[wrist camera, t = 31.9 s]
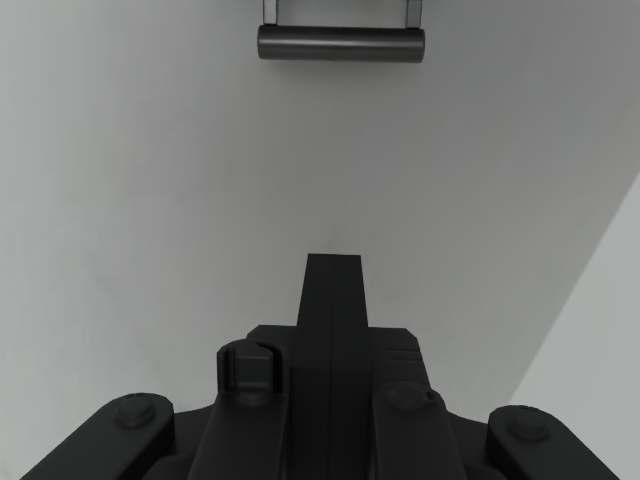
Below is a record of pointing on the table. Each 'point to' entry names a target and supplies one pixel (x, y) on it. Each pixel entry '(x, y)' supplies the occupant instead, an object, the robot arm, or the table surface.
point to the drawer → (341, 40)
